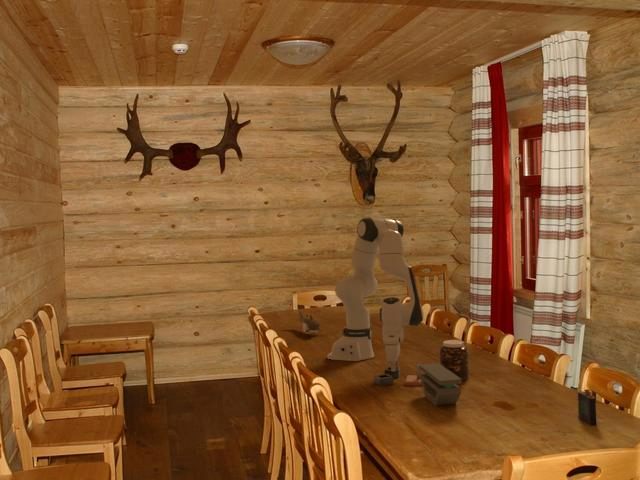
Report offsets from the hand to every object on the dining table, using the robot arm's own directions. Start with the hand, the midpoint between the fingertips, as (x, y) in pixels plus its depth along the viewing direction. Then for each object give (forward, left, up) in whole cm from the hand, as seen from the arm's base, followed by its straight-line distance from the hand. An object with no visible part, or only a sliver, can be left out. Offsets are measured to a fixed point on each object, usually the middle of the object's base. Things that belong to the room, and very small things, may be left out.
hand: (394, 368), depth 303 cm
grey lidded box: (+21, -35, -3) cm, 41 cm away
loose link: (-3, -13, -3) cm, 14 cm away
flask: (+70, -55, -3) cm, 89 cm away
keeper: (+11, -10, -3) cm, 15 cm away
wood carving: (-60, +93, -3) cm, 110 cm away
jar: (+25, -2, -3) cm, 25 cm away
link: (-1, 0, -3) cm, 3 cm away
